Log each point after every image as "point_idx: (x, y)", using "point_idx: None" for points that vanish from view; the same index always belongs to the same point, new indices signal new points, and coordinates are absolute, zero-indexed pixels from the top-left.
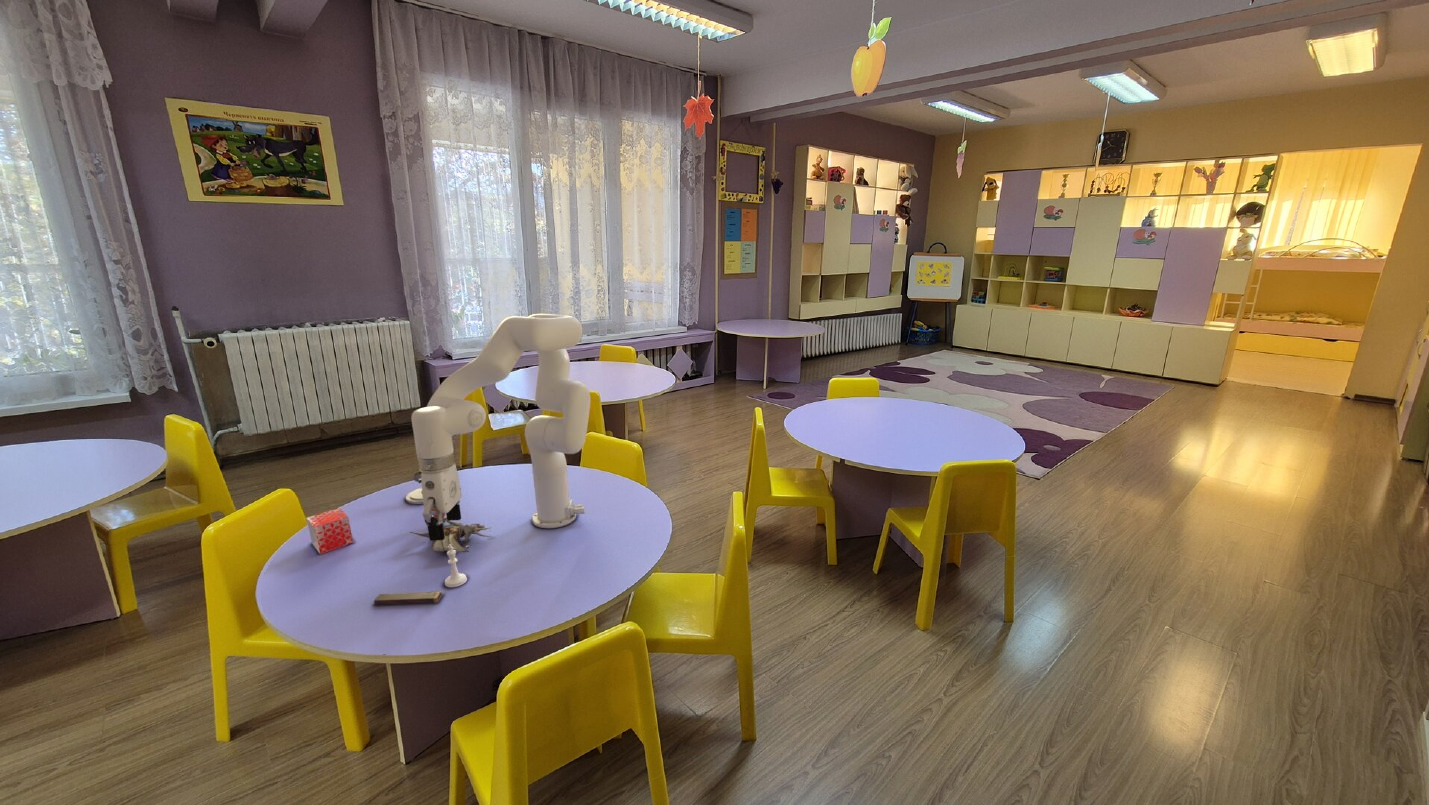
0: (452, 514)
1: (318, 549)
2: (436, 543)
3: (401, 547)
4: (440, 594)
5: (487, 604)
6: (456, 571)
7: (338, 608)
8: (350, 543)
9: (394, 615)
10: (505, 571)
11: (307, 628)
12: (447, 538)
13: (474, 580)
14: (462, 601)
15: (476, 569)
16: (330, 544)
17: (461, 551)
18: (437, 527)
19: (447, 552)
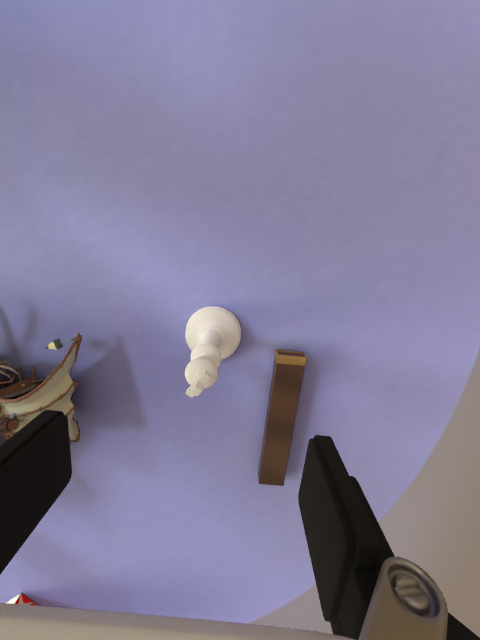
0: (39, 482)
1: None
2: None
3: None
4: (284, 353)
5: (344, 218)
6: (214, 337)
7: (277, 531)
8: (24, 597)
9: (330, 427)
10: (176, 199)
11: None
12: (34, 414)
13: (214, 284)
14: (312, 292)
15: (156, 292)
16: None
17: (75, 356)
18: (388, 551)
19: (205, 387)
